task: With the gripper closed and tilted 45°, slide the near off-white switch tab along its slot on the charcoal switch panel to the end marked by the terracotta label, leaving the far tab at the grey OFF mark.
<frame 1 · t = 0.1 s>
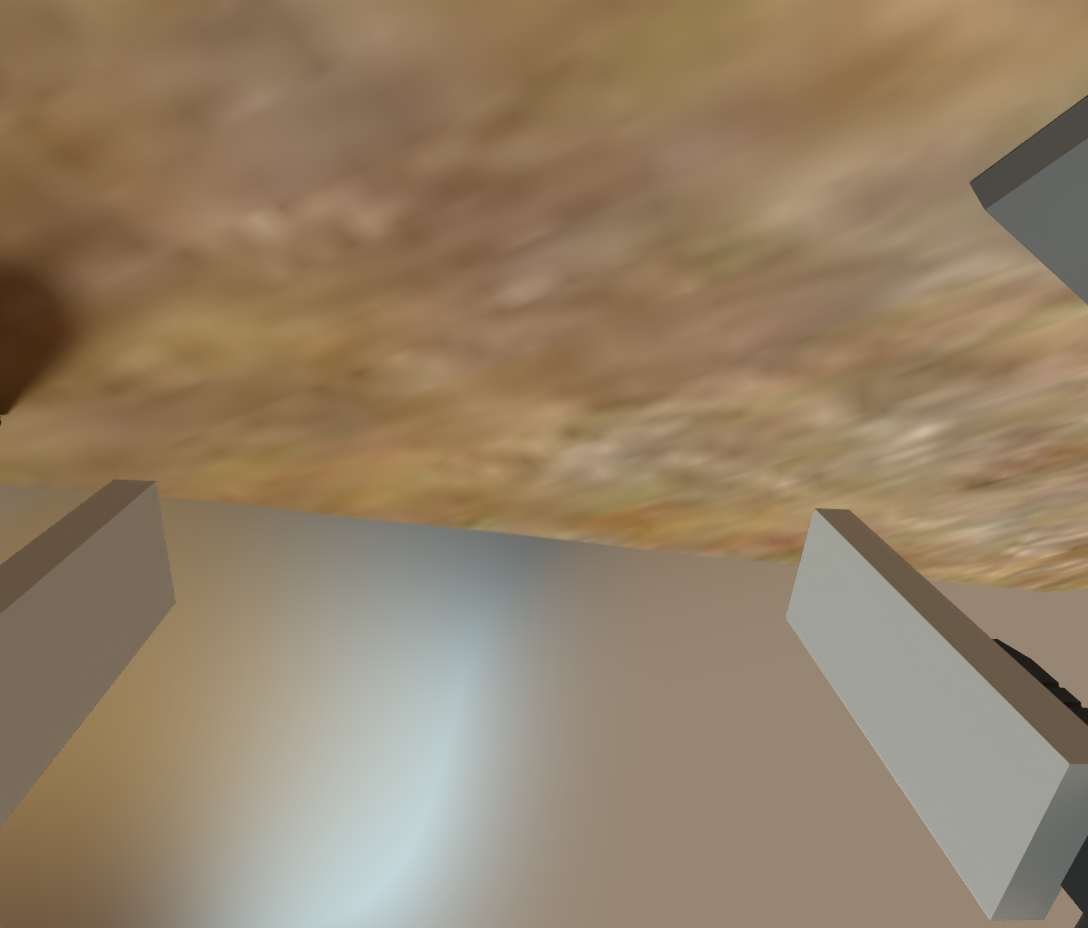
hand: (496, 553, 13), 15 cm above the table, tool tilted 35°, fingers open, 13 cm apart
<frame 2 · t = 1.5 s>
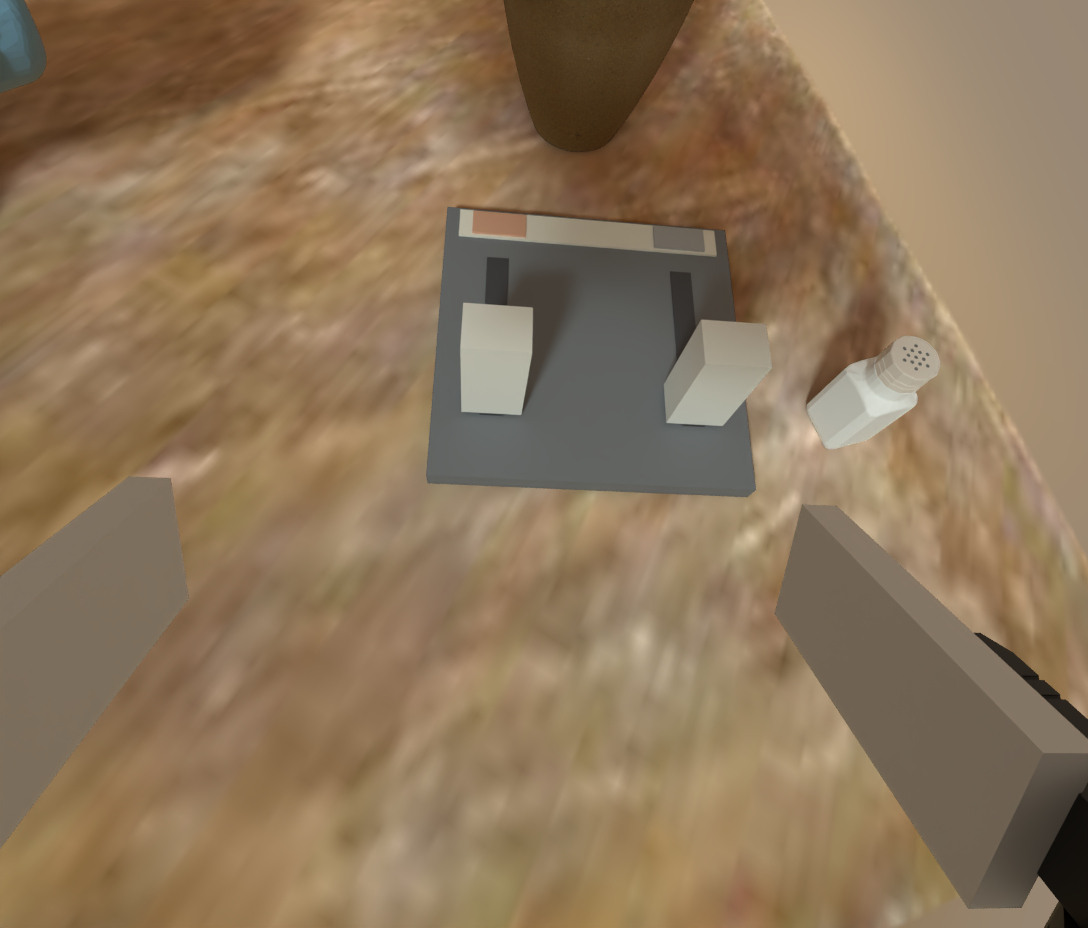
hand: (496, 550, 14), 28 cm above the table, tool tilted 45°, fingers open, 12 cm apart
pepper shaker: (833, 424, 49), on the table
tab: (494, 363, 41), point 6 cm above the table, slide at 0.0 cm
switch panel: (588, 350, 49), on the table
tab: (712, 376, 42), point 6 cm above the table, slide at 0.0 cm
plant pot: (571, 121, 57), on the table
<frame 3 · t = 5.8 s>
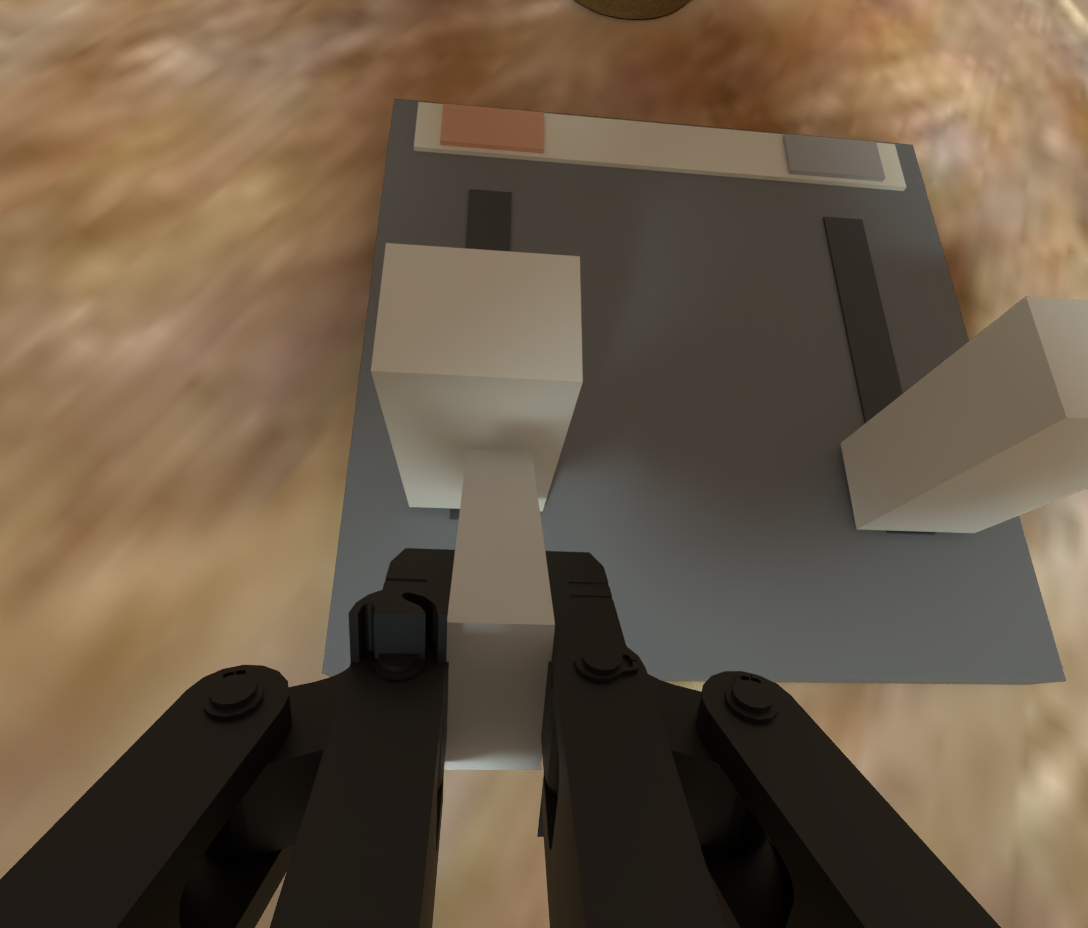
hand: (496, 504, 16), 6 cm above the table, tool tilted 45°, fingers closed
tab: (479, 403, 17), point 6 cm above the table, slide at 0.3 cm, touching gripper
switch panel: (671, 371, 24), on the table
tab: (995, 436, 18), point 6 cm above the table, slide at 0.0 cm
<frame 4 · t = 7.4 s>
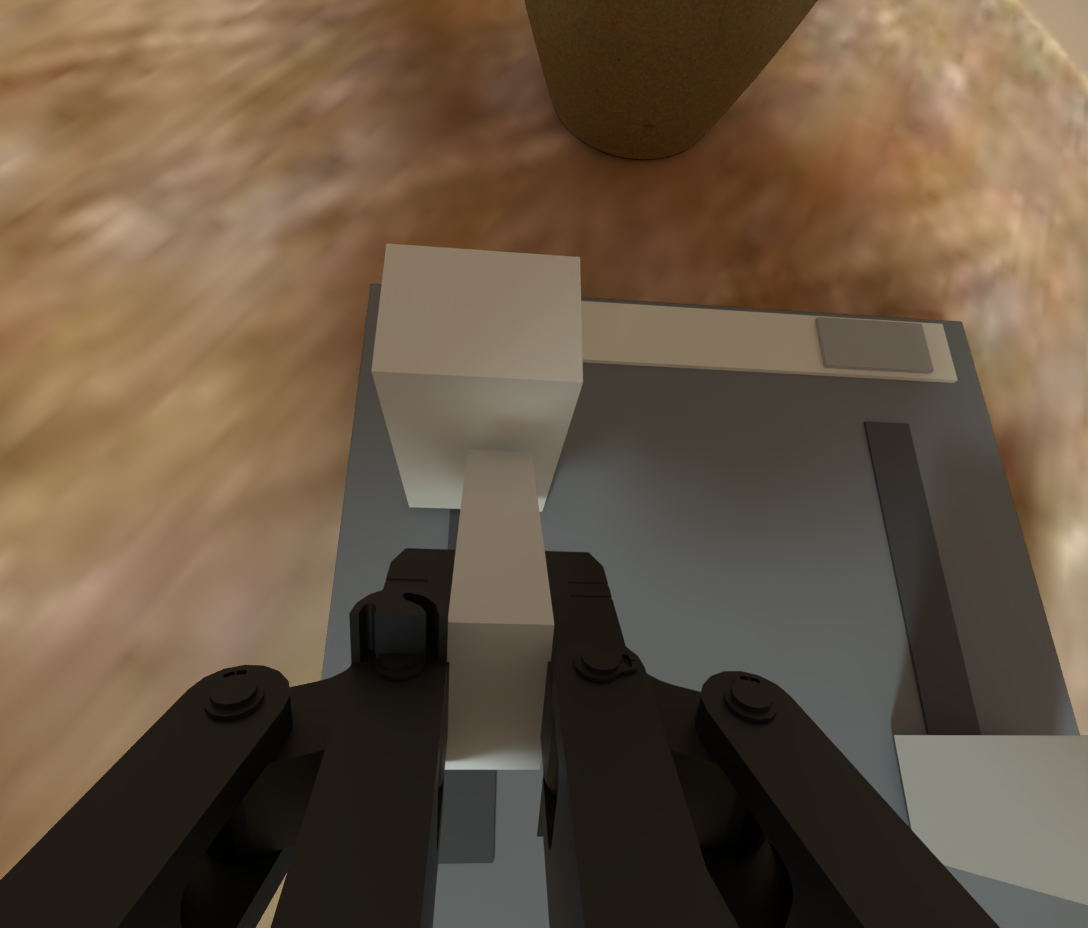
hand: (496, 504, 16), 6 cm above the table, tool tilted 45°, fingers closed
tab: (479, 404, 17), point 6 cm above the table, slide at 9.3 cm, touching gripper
switch panel: (691, 616, 21), on the table
plant pot: (625, 102, 30), on the table
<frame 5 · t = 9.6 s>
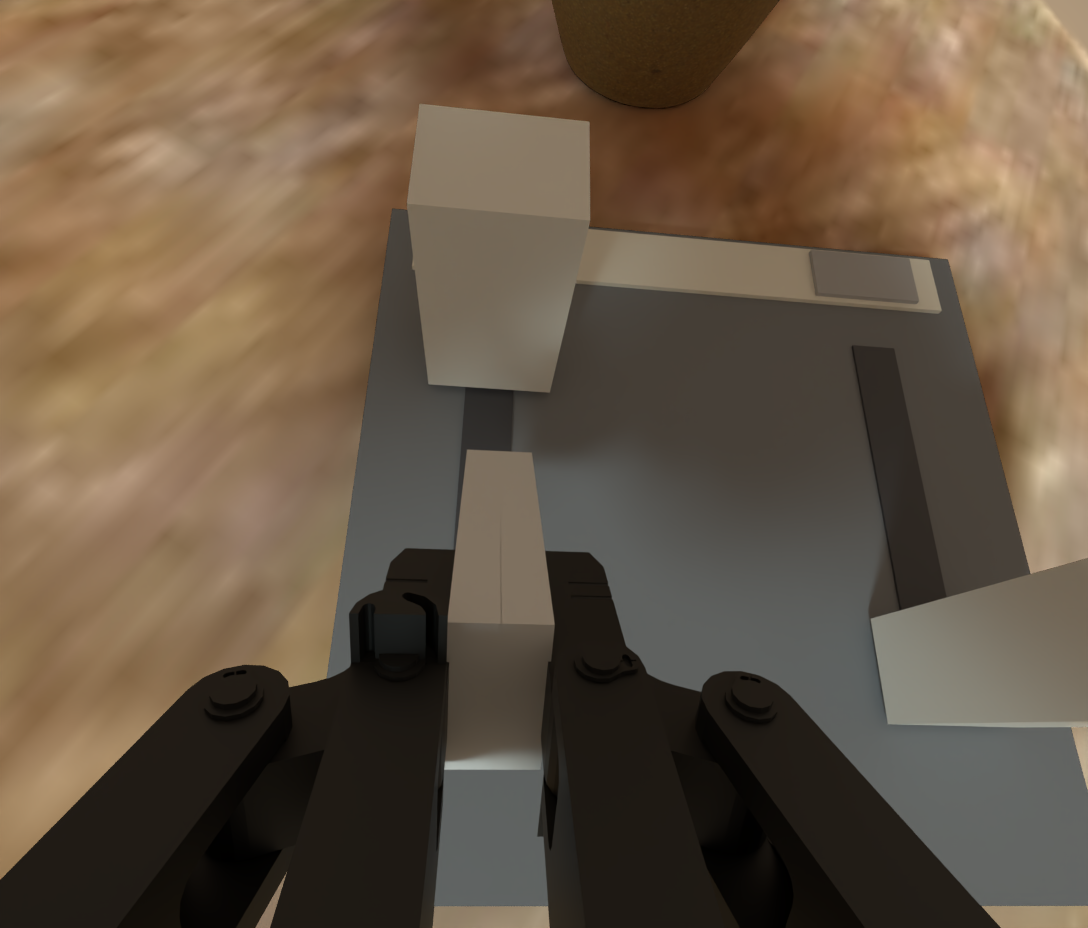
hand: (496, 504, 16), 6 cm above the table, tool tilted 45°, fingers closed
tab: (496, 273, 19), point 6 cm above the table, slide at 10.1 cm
switch panel: (686, 518, 23), on the table
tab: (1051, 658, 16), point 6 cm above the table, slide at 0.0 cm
plant pot: (634, 56, 32), on the table
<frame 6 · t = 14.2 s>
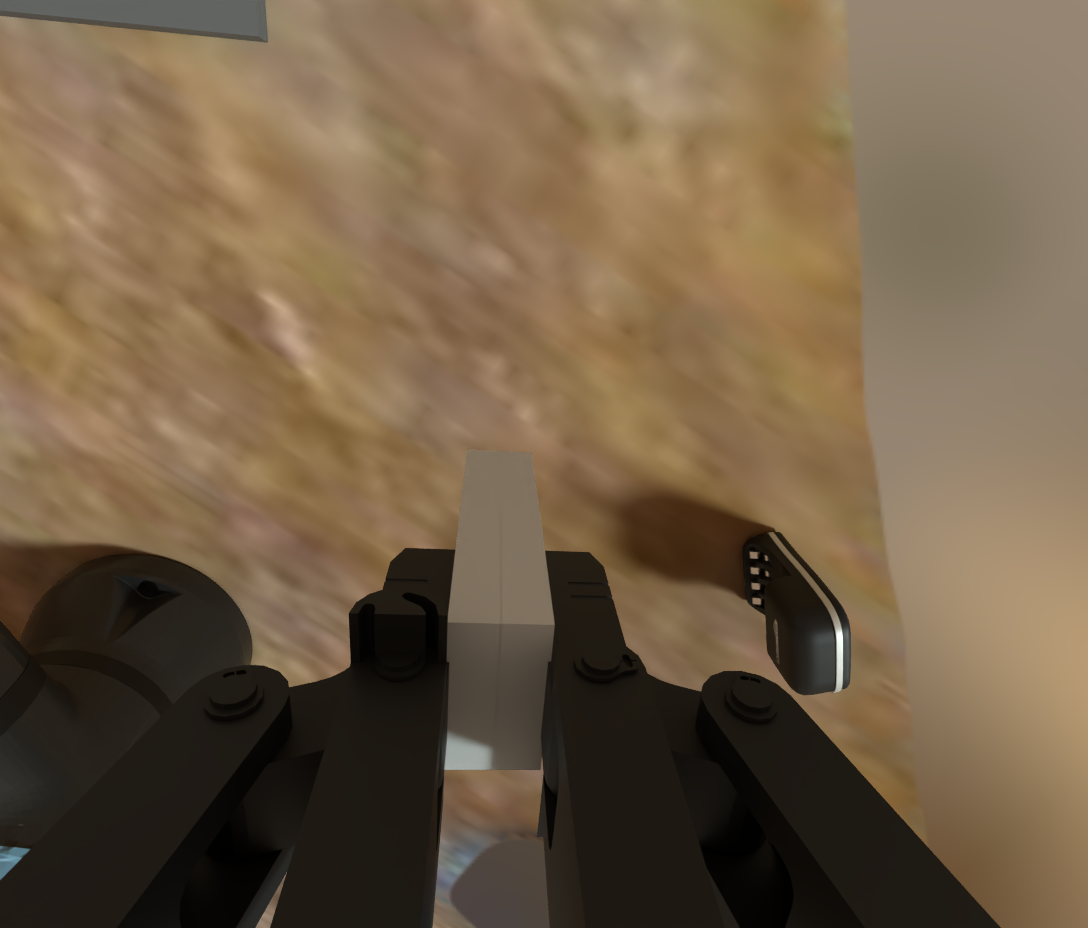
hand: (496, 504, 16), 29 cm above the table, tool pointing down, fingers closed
battery charger: (756, 567, 52), on the table
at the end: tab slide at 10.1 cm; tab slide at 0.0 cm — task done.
